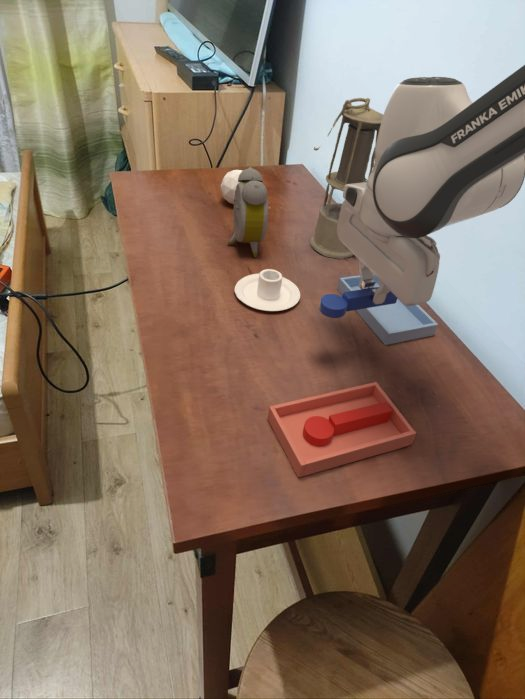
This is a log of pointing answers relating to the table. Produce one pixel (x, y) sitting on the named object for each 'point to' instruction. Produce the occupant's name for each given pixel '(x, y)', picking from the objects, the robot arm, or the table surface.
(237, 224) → the alarm clock
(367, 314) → the blue tray
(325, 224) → the lamp
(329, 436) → the red spoon
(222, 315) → the table surface
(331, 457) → the red tray
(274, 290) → the candle holder
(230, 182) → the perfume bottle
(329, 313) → the blue spoon
